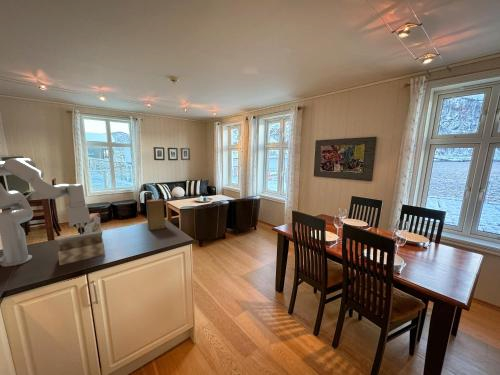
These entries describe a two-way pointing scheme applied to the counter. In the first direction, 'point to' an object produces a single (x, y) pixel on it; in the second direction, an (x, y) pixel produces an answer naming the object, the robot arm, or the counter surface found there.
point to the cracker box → (93, 224)
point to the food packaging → (155, 214)
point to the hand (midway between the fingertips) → (81, 233)
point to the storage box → (80, 250)
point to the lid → (79, 237)
